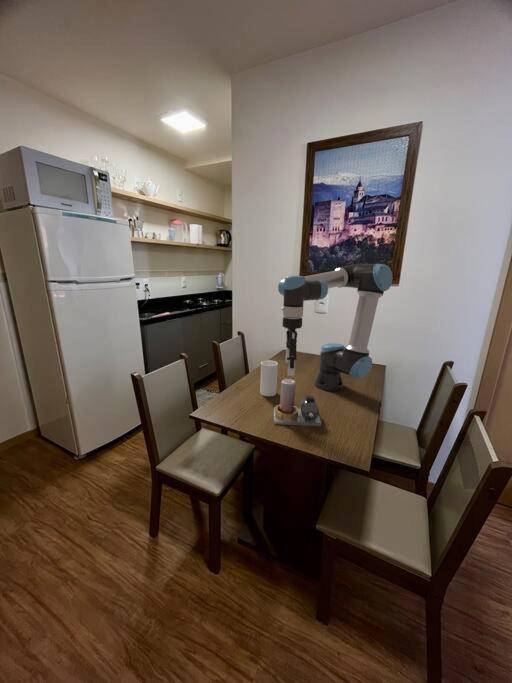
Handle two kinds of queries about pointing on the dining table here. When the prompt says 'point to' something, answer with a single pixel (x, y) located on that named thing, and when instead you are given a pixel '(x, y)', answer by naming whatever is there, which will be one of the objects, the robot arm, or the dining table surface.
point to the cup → (268, 378)
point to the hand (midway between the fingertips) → (289, 368)
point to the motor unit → (300, 414)
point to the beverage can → (287, 396)
